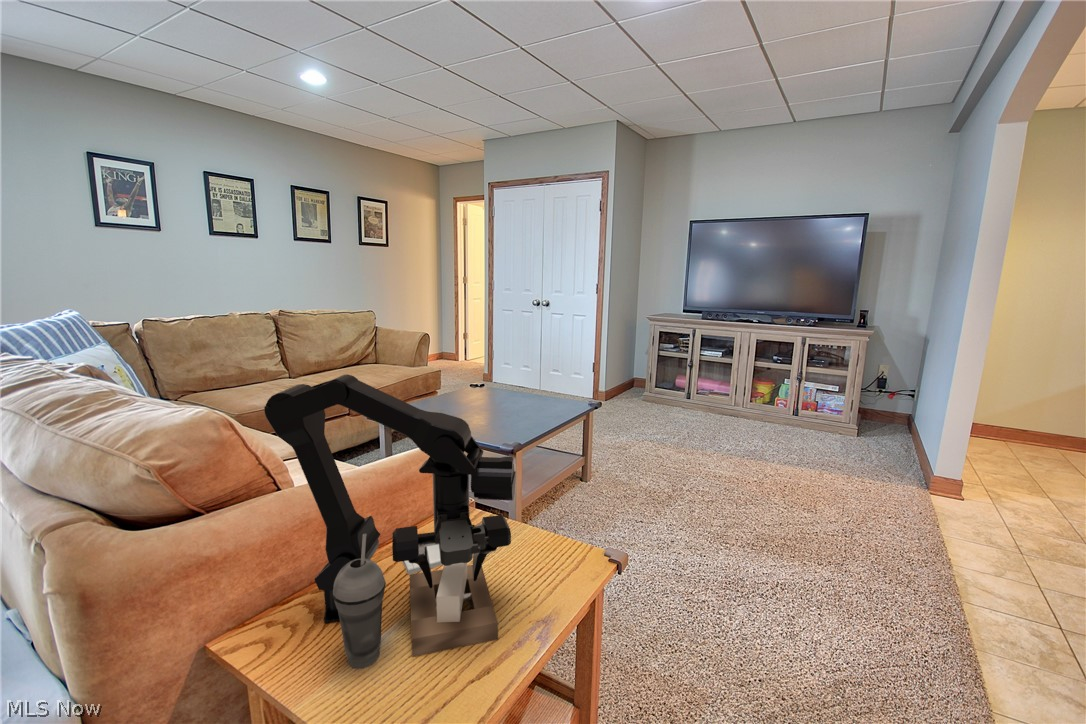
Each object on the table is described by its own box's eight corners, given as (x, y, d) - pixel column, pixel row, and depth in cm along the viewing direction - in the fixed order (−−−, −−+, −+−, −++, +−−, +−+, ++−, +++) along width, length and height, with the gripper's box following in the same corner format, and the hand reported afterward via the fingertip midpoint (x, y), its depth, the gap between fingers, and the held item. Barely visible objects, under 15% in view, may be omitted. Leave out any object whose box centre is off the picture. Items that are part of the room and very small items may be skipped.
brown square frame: (412, 656, 72) (411, 639, 71) (410, 589, 87) (409, 574, 86) (497, 639, 76) (497, 622, 75) (481, 577, 91) (481, 563, 90)
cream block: (437, 622, 75) (436, 596, 74) (447, 574, 87) (447, 551, 86) (459, 621, 75) (459, 596, 74) (467, 574, 87) (467, 551, 86)
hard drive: (457, 533, 104) (398, 547, 98) (470, 552, 97) (407, 569, 91) (457, 540, 104) (398, 554, 98) (470, 560, 97) (408, 576, 91)
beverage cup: (350, 637, 75) (342, 520, 72) (395, 639, 75) (390, 521, 72) (328, 675, 68) (318, 548, 65) (378, 677, 68) (371, 549, 64)
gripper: (389, 530, 67) (394, 627, 70) (519, 513, 73) (518, 604, 75) (391, 494, 78) (395, 581, 81) (504, 482, 83) (503, 563, 86)
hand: (453, 583), depth 80 cm, fingers open, 7 cm apart
